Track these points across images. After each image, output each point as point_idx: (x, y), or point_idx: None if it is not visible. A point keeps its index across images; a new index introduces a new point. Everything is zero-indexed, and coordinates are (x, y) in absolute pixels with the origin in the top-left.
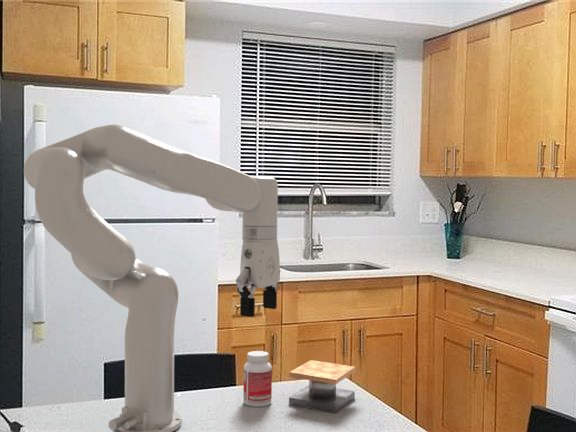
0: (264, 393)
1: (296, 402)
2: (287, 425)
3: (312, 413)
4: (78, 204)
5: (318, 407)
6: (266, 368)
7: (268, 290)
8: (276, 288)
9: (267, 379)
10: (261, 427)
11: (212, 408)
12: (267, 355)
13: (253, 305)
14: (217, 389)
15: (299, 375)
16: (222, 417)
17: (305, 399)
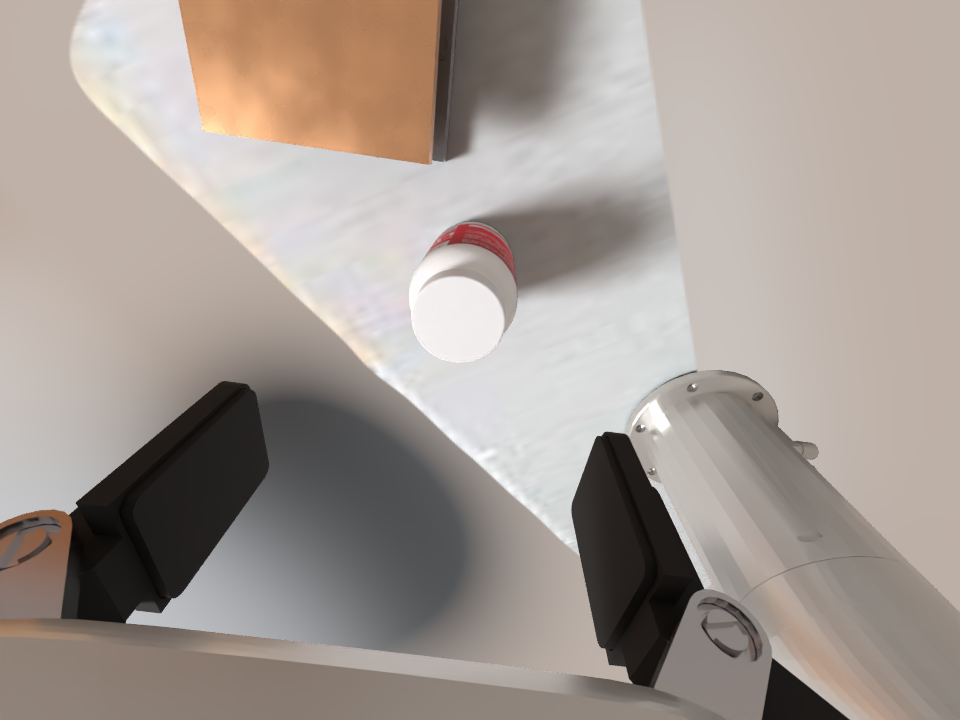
0: (498, 239)
1: (447, 128)
2: (634, 89)
3: (496, 35)
4: None
5: (456, 18)
6: (488, 256)
7: (138, 576)
8: (16, 540)
9: (486, 242)
10: (666, 172)
11: (553, 355)
12: (460, 275)
13: (659, 505)
14: (416, 397)
15: (433, 106)
16: (610, 308)
17: (440, 87)
